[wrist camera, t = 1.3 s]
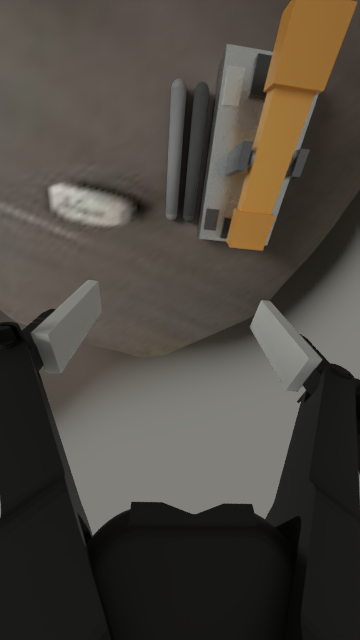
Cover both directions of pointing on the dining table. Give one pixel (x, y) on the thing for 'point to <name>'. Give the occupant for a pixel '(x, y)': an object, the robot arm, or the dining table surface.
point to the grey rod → (175, 146)
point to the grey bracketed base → (238, 139)
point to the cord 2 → (195, 149)
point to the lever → (287, 108)
